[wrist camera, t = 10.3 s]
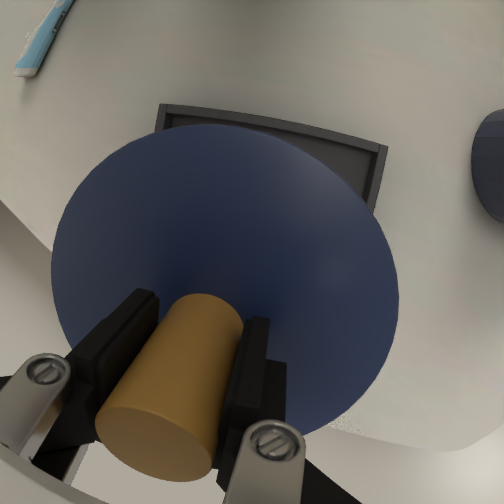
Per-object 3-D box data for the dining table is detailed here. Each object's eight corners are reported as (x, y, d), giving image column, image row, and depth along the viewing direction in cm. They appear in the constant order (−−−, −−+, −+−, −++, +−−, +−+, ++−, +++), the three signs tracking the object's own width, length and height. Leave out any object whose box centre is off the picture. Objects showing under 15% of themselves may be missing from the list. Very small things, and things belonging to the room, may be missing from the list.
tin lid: (80, 384, 14) (16, 467, 8) (75, 114, 10) (-65, 110, 4) (326, 446, 14) (332, 557, 8) (433, 177, 10) (571, 216, 3)
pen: (37, 82, 26) (21, 79, 24) (23, 76, 26) (8, 74, 24) (116, -53, 20) (105, -63, 18) (98, -53, 20) (88, -62, 18)
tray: (148, 280, 32) (138, 289, 30) (169, 106, 27) (159, 103, 24) (333, 320, 31) (336, 333, 29) (380, 146, 26) (388, 146, 23)
